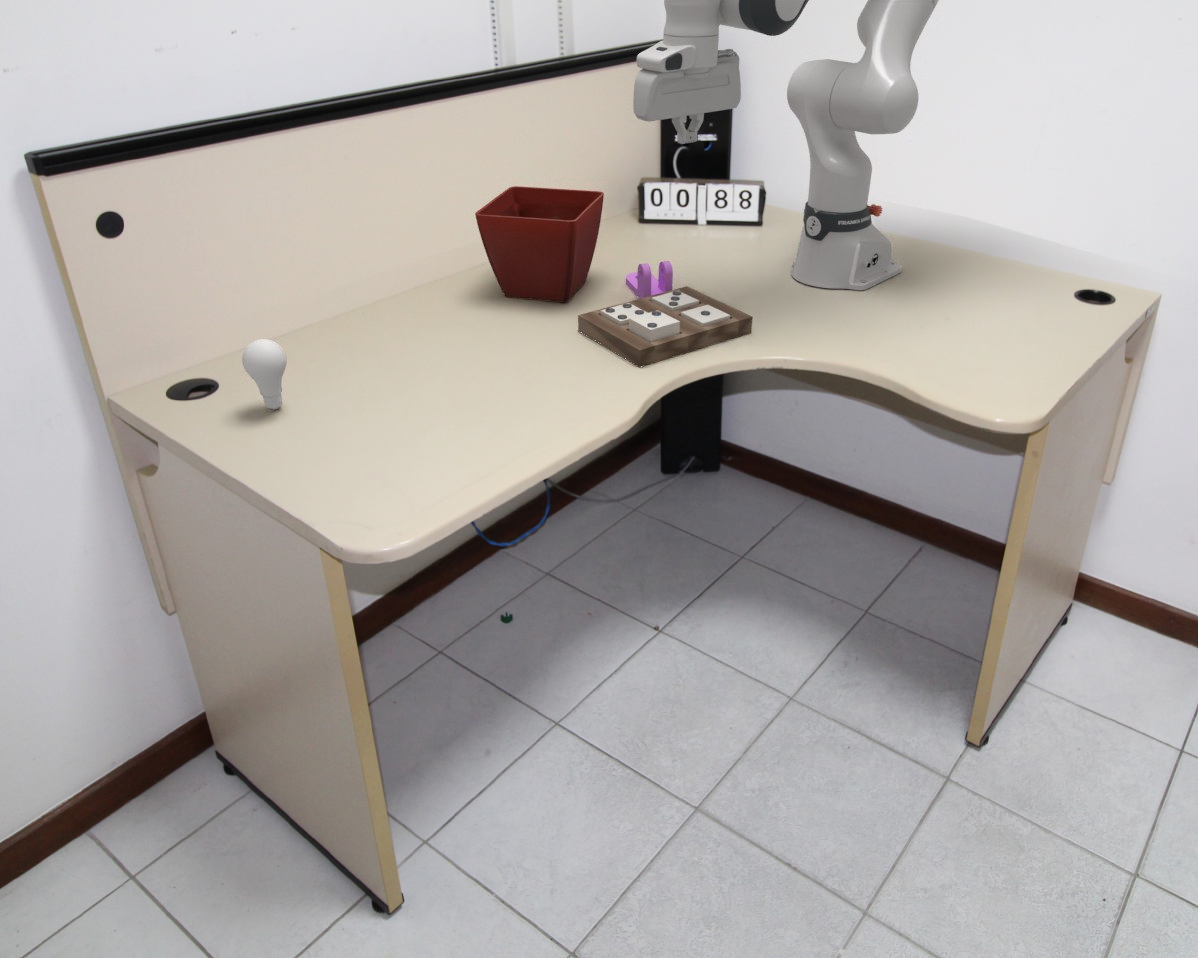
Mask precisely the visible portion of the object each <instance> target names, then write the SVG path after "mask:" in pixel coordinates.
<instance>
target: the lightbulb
mask: <svg viewBox="0 0 1198 958" xmlns="http://www.w3.org/2000/svg"><path fill="white" fill-rule="evenodd" d="M241 363H242V367H243V369H244V371H245V372H246V373H247V374H248V376H250V378H251V379H252V380H253V381H254V383H255V384H256V386H257V388H258V390H259V393H260V395H261V396H262V399H263V403H264V405H265V408H267V409H270V410H273V411H274V410H277V409H279V408H280V407H281V406H282V405H283V396H282V392H283V386H282V385H283V384H282V380H283V376H284V373H285V370H286V368H287V355H286V353H285V350H284V349H283V347H282V346H281V345H279V343H277V342H275V341H274V340H271V339H266V338H261V339H255V340H254V341H252V342H250V343H249V344H248V345H247V346H246V347H245V348H244V351H243V353H242V356H241Z"/></svg>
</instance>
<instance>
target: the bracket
mask: <svg viewBox="0 0 1198 958" xmlns="http://www.w3.org/2000/svg"><path fill="white" fill-rule="evenodd" d="M673 270H674V269H673V265H672V263H671V261H670V260H665V261H664V260H663V261H660V262H659V264H658V278H657V277H656V276H655V275H653V274H652V270H651V266H650V263H646V262H645V263H639V264H638V266H637V271H636V272H631V273H628V274H627V275H625V285H626V286H627V287H628V288H629V289H630V290H631V291H632V293H634V294H635V296H636V295H637V296H638V297H639V298H640V299H641V298H644V297H648V296H652V295H656V294H659V293H663V292H667V291H671V290H673V280H674V279H673V278H674V277H673V276H674V275H673V273H674V271H673ZM638 297H637V298H638ZM639 298H638V299H639Z"/></svg>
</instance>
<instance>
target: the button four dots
mask: <svg viewBox="0 0 1198 958" xmlns="http://www.w3.org/2000/svg"><path fill="white" fill-rule="evenodd" d="M646 313H647V312H645V311H644V310H642V309H640V308H638V307H636V306H634V305H632V304H630V303H627V304H623V305H619V306H615V307H612V308H608V309H604V310H601V316H603V317H604V318H606V319H608V320H610V321H612V322H613V323H615V324H617V325H619V326H623V325H626V324H629V318H632V317H635V316H639V315H643V314H646Z"/></svg>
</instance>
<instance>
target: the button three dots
mask: <svg viewBox="0 0 1198 958" xmlns="http://www.w3.org/2000/svg"><path fill="white" fill-rule="evenodd" d="M651 302H653V303H655V304H657V305H659V306H661V307H663V308H665V309H667V310H669V311H671V312H673V311H676V310H680V309H683V308H687V307H690V306H694V305H698V304H699V300H697V299H695V298H693V297H691V296H688V295H686V294H684V293H682V292H680V291H675V292H671V293H667V294H663V295H660V296H656V297H652V299H651Z"/></svg>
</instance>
